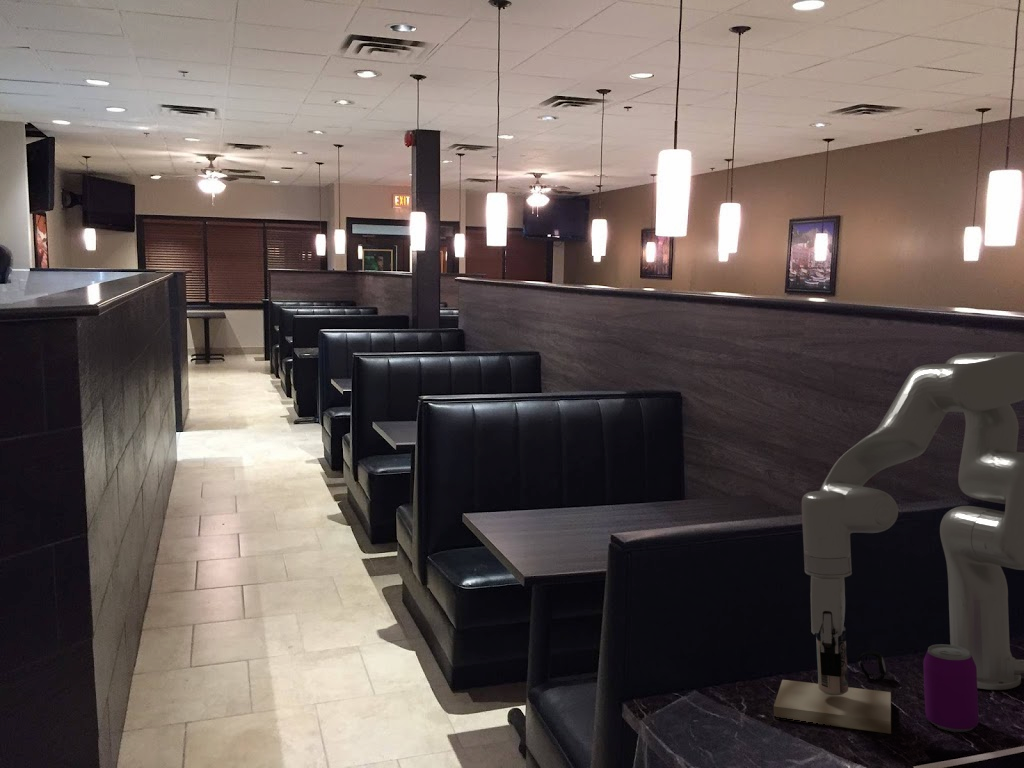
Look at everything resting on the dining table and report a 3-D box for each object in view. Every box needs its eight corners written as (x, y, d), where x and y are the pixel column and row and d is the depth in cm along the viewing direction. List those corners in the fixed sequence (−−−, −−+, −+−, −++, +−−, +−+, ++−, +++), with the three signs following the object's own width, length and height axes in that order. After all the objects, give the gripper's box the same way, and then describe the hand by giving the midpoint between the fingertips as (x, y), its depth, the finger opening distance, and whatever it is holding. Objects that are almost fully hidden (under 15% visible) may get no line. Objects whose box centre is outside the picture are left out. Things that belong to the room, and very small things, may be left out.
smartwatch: (881, 684, 148) (880, 658, 148) (854, 677, 152) (853, 651, 152) (892, 678, 150) (891, 652, 150) (866, 671, 154) (864, 645, 154)
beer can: (851, 697, 135) (847, 626, 135) (821, 696, 136) (817, 626, 136) (845, 685, 140) (842, 617, 140) (816, 685, 141) (813, 617, 141)
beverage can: (928, 731, 129) (925, 657, 129) (923, 711, 136) (920, 641, 136) (982, 737, 126) (979, 661, 126) (974, 716, 134) (972, 644, 133)
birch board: (891, 703, 140) (890, 692, 140) (891, 733, 129) (890, 721, 129) (782, 690, 148) (782, 679, 148) (774, 717, 137) (773, 706, 137)
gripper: (808, 551, 147) (813, 649, 147) (799, 575, 132) (804, 685, 132) (853, 553, 144) (858, 654, 144) (848, 578, 128) (854, 691, 129)
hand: (832, 668), depth 138 cm, fingers closed on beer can, 4 cm apart
